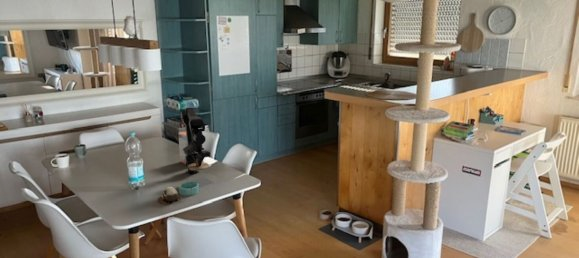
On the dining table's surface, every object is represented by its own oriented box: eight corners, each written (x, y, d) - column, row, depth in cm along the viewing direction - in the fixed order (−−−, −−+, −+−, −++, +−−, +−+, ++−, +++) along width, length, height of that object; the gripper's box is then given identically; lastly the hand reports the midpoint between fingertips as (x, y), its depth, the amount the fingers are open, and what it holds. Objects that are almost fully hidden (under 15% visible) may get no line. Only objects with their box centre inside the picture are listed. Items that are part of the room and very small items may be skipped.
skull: (152, 198, 235) (162, 182, 238) (165, 206, 242) (175, 190, 245) (163, 204, 227) (174, 187, 230) (177, 212, 234) (187, 195, 237)
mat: (186, 182, 260) (186, 181, 260) (203, 177, 268) (203, 176, 268) (196, 188, 252) (196, 187, 252) (214, 183, 260) (214, 182, 260)
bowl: (175, 191, 247) (175, 185, 246) (192, 186, 254) (192, 180, 253) (185, 197, 239) (185, 190, 238) (202, 192, 246) (202, 185, 245)
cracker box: (198, 165, 290) (196, 135, 284) (190, 167, 286) (188, 136, 280) (187, 160, 300) (186, 130, 294) (179, 161, 296) (177, 132, 291)
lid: (184, 166, 256) (183, 159, 255) (201, 162, 264) (201, 154, 263) (194, 172, 247) (194, 164, 246) (212, 167, 255) (212, 159, 254)
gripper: (176, 139, 253) (178, 164, 257) (193, 146, 239) (194, 172, 243) (193, 135, 260) (194, 160, 264) (210, 142, 247) (211, 168, 251)
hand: (198, 165), depth 255 cm, fingers closed on lid, 3 cm apart
